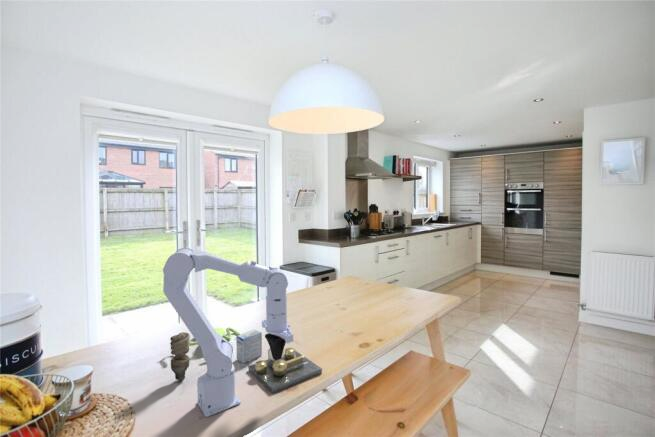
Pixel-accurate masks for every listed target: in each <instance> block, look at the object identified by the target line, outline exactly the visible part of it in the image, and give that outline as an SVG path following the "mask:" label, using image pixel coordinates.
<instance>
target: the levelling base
mask: <svg viewBox="0 0 655 437" xmlns="http://www.w3.org/2000/svg"><path fill="white" fill-rule="evenodd" d="M302 355H303V354H301V353H300V352H298V351H297V350H296V349H295V348H294V347H287V348H284V349H283V353H282V358H281V359H278V360H285V361H289V360H291V359H294V358H297V357H300V356H302ZM274 361H277V360H274V359H273V357H272V353H271V349H270V348H268V349H267V359H266V360H261V359H260V360H257V361H255V363H254V364H251V365H248V372H250V374H251V375H252V376H254V377H255V378H256V379H257V380H258V382H260V383H261V384H262V385H263V386H264V387H265V388H266V389H267V390H268V391H269V392H270V393H271V394H275V393H277V392H279V391H282V390H284V389H286V388H289V387H291V386H294V385H296V384H299V383H301V382H304V381H306V380H309V379H311V378H313V377H315V376H319V375H320V374H322V373H323V368H322V367H321V366H319V365H317V364H316V363H314V362H313V361H312V360H311V359H309V358H307V357H306V356H305V362H304V363H301V364H298V365H296V366H293V367H291V368H288V369H287V373H286V374H284V375H281V376H276V375H274V374H273V362H274Z"/></svg>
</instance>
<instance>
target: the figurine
mask: <svg viewBox="0 0 655 437" xmlns="http://www.w3.org/2000/svg"><path fill="white" fill-rule="evenodd" d="M213 328H214V327H213ZM214 330H215V331H216V333H217V334H220V335H221V336H222V338H223V339H224V340H226V341H230V340H231V338H232V333H233V334H235V335H236V336H238V335H241V333H240V332H239V331H237V330H235V329H234V328H232V327H227V328H226V329H224V328H221V327H215V328H214ZM225 333H226V334H227V335H226V334H225ZM189 344H190V346H189V347H192V346H196V345H197V346H198V345H199V344H198V342H197V341H196V340H195V341H190V342H189ZM171 346H172V345H171V344H170V347H171Z"/></svg>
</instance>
